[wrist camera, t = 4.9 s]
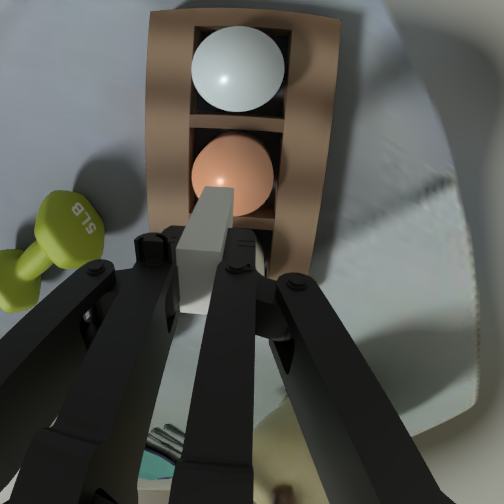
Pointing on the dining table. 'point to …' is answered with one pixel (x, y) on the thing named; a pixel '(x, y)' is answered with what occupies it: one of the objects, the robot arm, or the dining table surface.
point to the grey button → (237, 68)
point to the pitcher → (284, 461)
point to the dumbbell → (51, 248)
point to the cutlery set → (159, 458)
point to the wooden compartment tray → (243, 123)
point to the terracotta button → (236, 169)
